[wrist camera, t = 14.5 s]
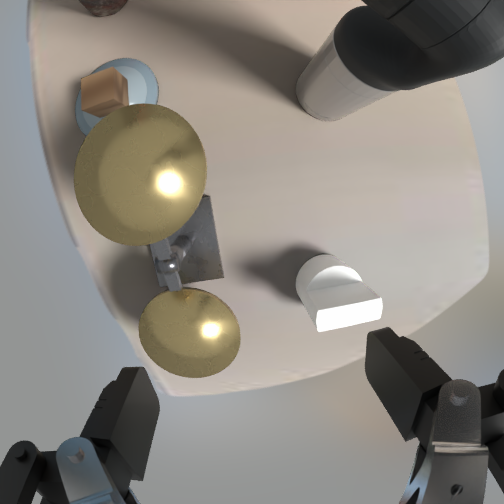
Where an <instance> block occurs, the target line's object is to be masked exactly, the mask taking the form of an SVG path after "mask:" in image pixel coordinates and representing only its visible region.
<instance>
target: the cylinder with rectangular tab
mask: <svg viewBox="0 0 504 504" xmlns="http://www.w3.org/2000/svg"><path fill="white" fill-rule="evenodd" d="M296 290H297V294H298V295H299V297H300V299H301V301H302V303H303V304H304V306H305V308H306V310H307V312H308V314H309V315H310V317H311V319H312V321H313V323H314V325H315V326H316V328H317V330H318V332H322V331H327V330H332V329H337V328H341V327H346V326H351V325H355V324H360V323H364V322H369V321H373V320H377V319H380V317H381V313H382V299H381V297H380V296H378V295H377V294H376V293H375V292H374V291H373V290H371V289H370V288H369V287H368V286H367V285H366V284H364V283H363V282H362V280H361V278H360V276H359V275H358V274H357V273H356V271H354V270H353V269H352V268H351V267H349V266H348V265H347V264H346V263H344V262H343V261H342V260H340V259H339V258H337V257H336V256H332V255H318V256H315V257H313V258H311V259H309V260H308V261H307V262H306V263H305V264H304V265H303V266H302V267H301V269H300V270H299V272H298V275H297V278H296Z"/></svg>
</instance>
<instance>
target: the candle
mask: <svg viewBox="0 0 504 504" xmlns="http://www.w3.org/2000/svg"><path fill="white" fill-rule="evenodd" d="M79 1H80V2H81V3H82V4H83V5H84V6H85V7H86V8H87V9H88V10H89V11H90V12H91V13H92V14H94V15H96V16H106V15H112V14H115V13H116V12H117V11H119V10H120V9H121V8H122V6H123V5H124V4H125V3H126V2H127V0H79Z"/></svg>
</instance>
